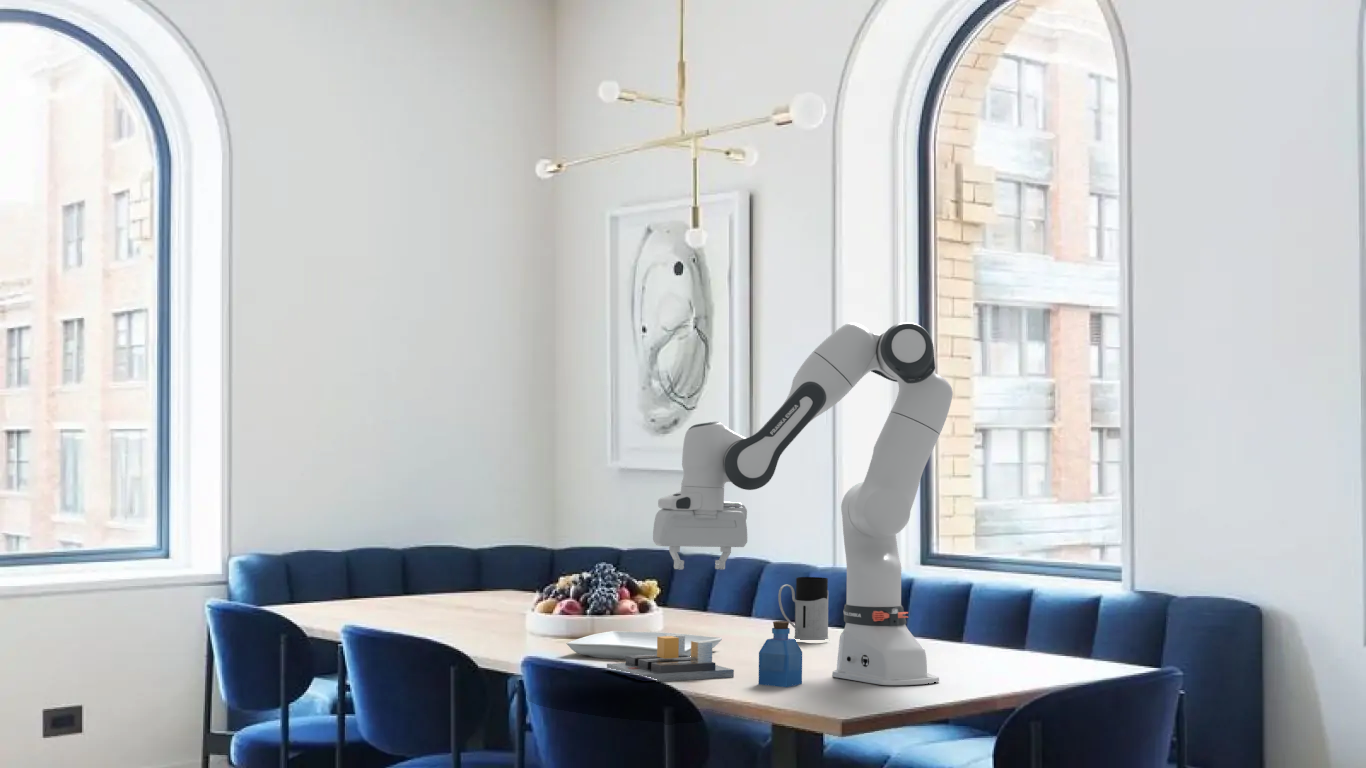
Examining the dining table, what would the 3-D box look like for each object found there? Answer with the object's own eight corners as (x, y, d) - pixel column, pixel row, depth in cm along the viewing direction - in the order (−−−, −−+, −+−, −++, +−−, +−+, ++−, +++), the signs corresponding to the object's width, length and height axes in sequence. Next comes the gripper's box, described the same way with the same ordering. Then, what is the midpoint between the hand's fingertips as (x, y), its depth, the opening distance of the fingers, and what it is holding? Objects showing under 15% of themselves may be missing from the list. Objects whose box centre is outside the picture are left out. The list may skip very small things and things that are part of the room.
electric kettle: (837, 642, 397) (838, 578, 397) (789, 645, 389) (790, 580, 389) (814, 638, 404) (814, 576, 405) (767, 641, 396) (768, 578, 397)
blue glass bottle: (786, 687, 320) (787, 624, 321) (758, 684, 323) (759, 622, 324) (801, 683, 325) (802, 621, 326) (773, 681, 329) (774, 619, 329)
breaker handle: (678, 657, 335) (678, 637, 335) (664, 658, 334) (664, 638, 334) (671, 656, 338) (671, 636, 338) (657, 656, 336) (657, 636, 337)
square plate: (563, 659, 361) (564, 641, 361) (612, 645, 386) (612, 628, 387) (681, 666, 351) (682, 647, 352) (723, 652, 377) (723, 635, 377)
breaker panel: (733, 677, 333) (734, 641, 333) (643, 682, 324) (643, 645, 324) (694, 666, 348) (695, 632, 348) (606, 671, 339) (607, 636, 339)
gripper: (739, 501, 349) (737, 568, 348) (651, 499, 339) (648, 567, 339) (754, 502, 343) (751, 570, 342) (664, 500, 334) (661, 570, 333)
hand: (699, 569), depth 341 cm, fingers open, 8 cm apart
